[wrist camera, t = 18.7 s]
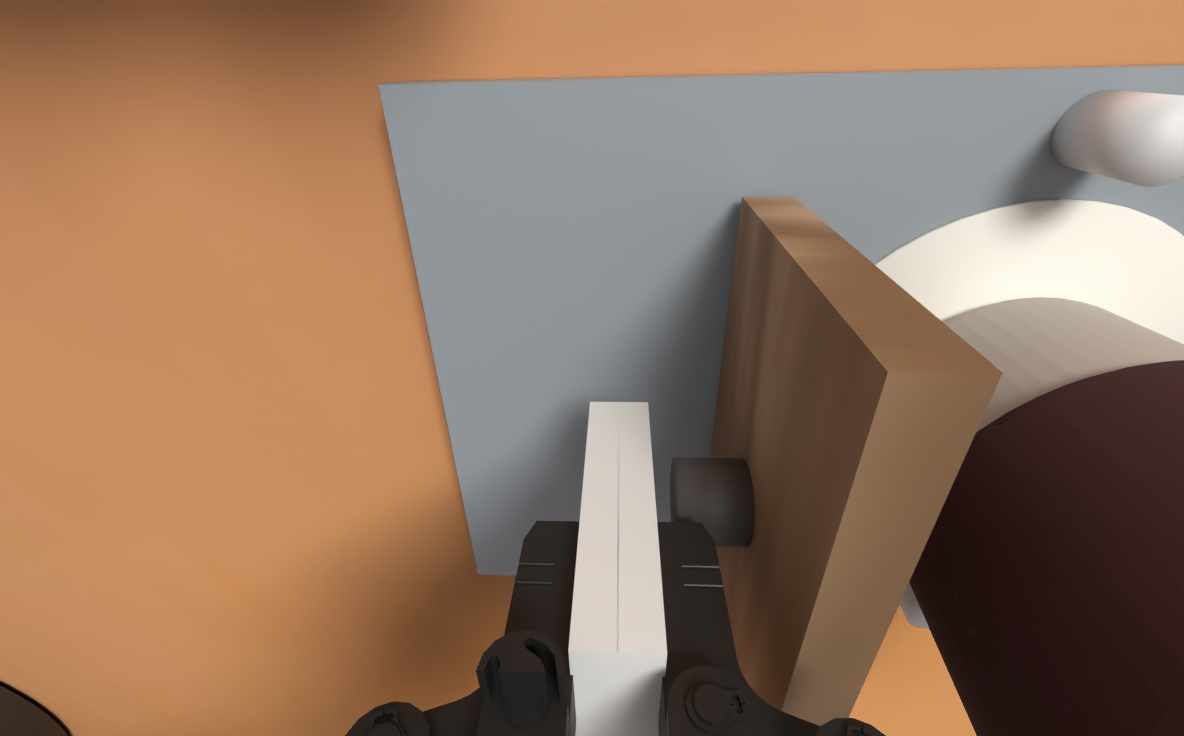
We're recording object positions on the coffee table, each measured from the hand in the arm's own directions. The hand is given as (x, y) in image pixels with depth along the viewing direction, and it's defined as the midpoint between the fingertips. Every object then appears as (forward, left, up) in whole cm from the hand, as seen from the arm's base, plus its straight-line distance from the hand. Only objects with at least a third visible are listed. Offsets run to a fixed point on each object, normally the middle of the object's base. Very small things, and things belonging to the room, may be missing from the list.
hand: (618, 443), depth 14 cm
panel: (+3, 0, -2) cm, 3 cm away
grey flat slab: (+6, 0, -4) cm, 7 cm away
